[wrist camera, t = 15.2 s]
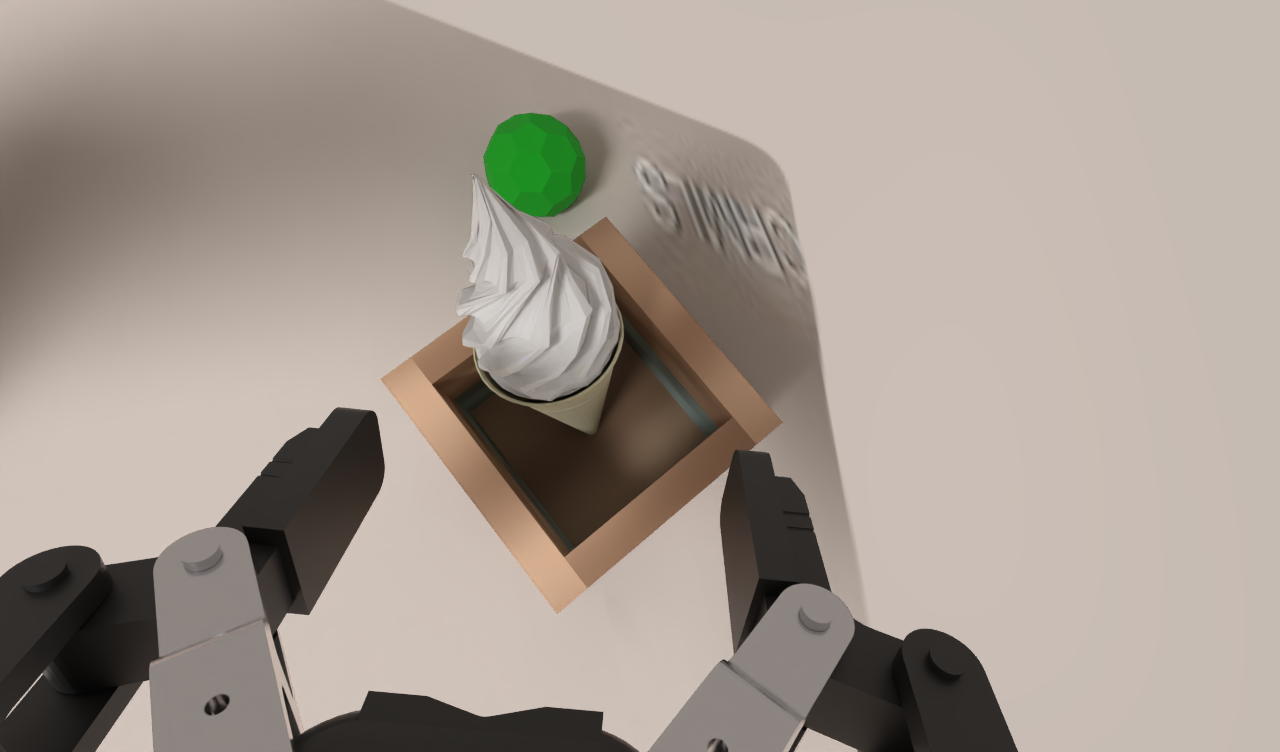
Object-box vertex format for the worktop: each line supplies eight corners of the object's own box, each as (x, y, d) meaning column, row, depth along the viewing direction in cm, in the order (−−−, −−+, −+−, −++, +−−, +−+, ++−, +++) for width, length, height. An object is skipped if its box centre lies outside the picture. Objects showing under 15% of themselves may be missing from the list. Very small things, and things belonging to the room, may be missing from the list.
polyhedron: (512, 139, 33) (497, 79, 29) (598, 165, 33) (596, 109, 29) (480, 218, 32) (459, 169, 28) (569, 245, 32) (562, 201, 28)
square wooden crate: (447, 418, 30) (380, 378, 21) (606, 298, 32) (605, 216, 23) (573, 582, 29) (557, 614, 20) (732, 448, 30) (782, 422, 22)
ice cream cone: (641, 371, 28) (575, 86, 15) (654, 476, 26) (589, 247, 13) (534, 387, 28) (376, 120, 15) (538, 492, 26) (354, 284, 13)
